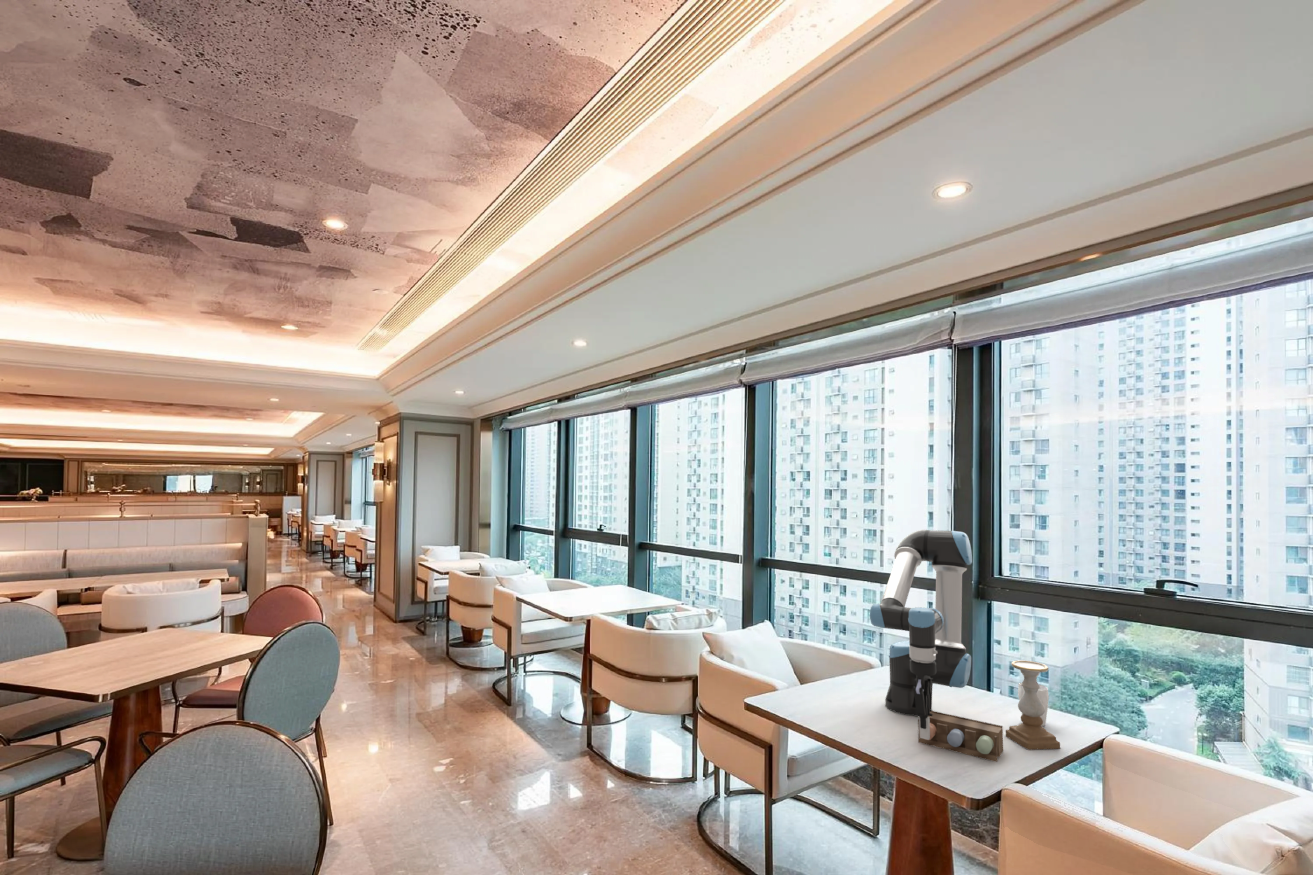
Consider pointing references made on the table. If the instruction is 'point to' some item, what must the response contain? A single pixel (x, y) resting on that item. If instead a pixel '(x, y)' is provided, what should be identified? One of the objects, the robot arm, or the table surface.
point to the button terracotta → (932, 731)
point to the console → (965, 735)
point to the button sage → (984, 744)
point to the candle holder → (1031, 711)
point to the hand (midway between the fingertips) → (924, 737)
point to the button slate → (955, 737)
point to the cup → (1043, 697)
